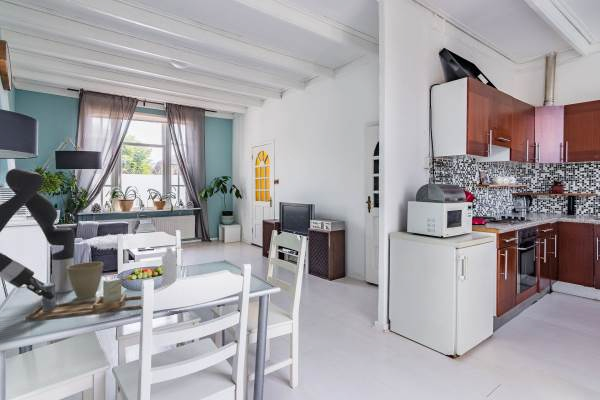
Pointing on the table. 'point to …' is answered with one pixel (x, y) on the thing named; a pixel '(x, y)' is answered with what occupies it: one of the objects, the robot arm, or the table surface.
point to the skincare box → (112, 290)
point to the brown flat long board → (35, 312)
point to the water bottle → (169, 266)
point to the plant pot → (85, 278)
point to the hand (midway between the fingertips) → (51, 295)
